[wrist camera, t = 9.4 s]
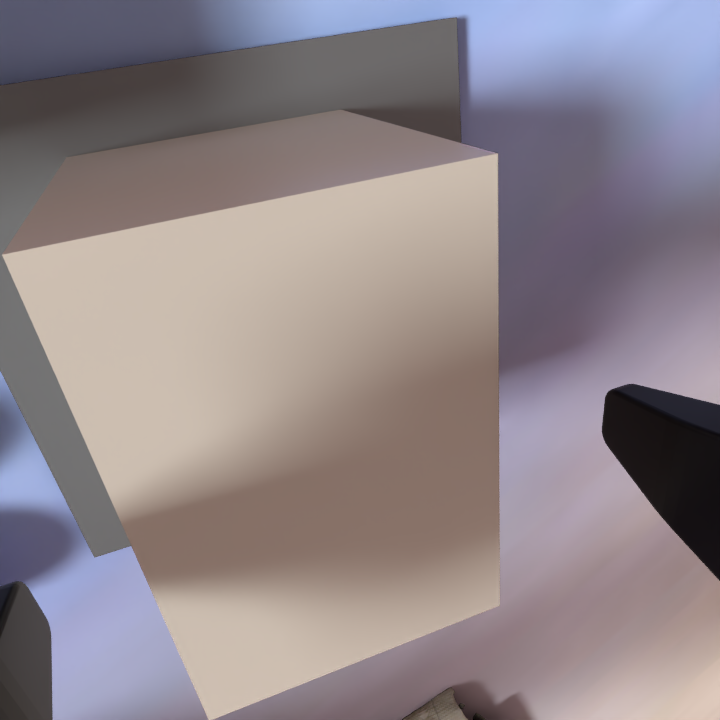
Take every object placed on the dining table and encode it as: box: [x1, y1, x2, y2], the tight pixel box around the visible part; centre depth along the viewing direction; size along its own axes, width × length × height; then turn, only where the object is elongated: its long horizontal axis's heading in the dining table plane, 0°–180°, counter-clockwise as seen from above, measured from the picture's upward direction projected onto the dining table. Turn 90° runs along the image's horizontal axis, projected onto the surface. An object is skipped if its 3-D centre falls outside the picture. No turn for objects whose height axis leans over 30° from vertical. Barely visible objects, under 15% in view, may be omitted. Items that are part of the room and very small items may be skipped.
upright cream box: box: [2, 110, 500, 720], centre depth 12 cm, size 9×6×7 cm, turn 7°
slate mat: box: [0, 17, 461, 558], centre depth 15 cm, size 12×12×1 cm
